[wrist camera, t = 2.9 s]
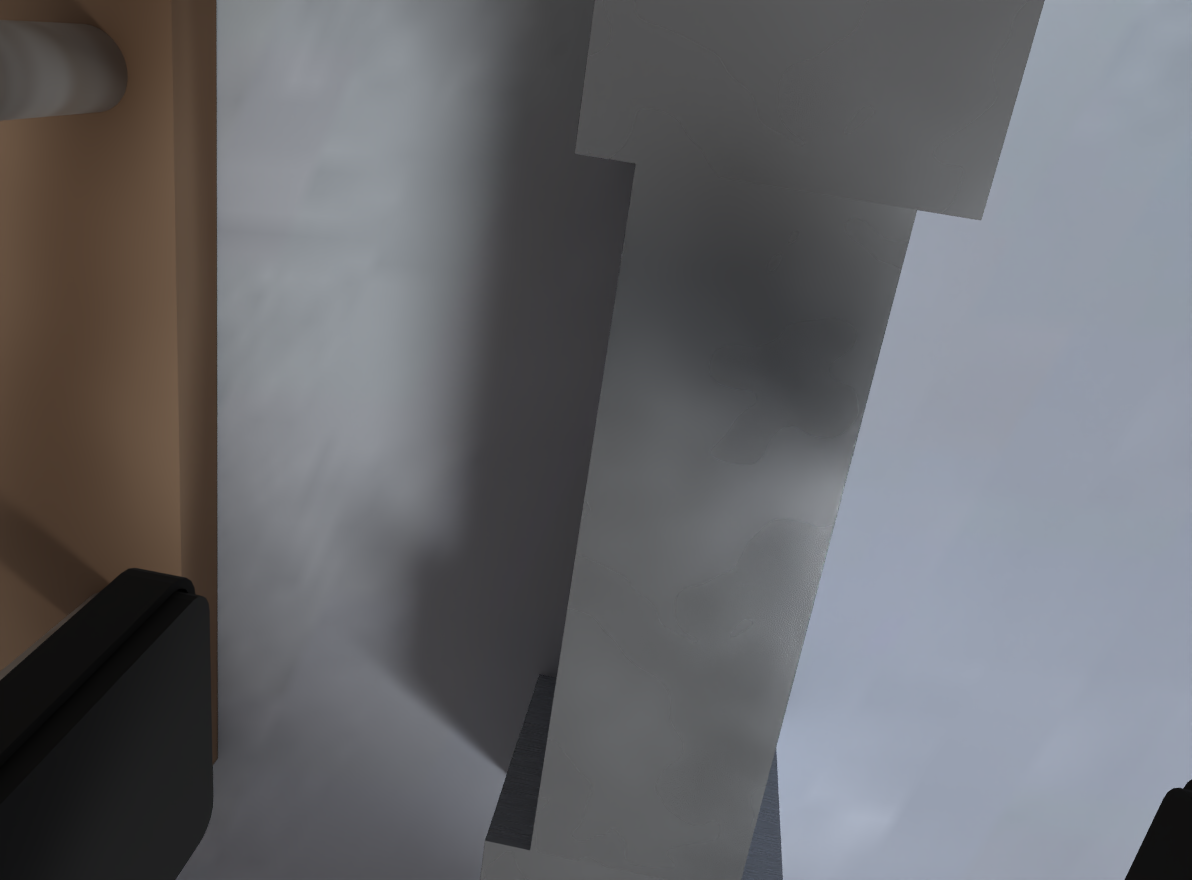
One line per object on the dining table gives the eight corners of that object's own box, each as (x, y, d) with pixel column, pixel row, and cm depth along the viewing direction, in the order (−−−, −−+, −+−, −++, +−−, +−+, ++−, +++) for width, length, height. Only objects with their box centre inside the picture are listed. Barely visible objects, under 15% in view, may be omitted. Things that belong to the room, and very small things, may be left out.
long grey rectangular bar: (969, -28, 16) (1062, -63, 11) (745, 835, 23) (746, 1036, 18) (648, -75, 16) (611, -127, 12) (523, 788, 23) (467, 972, 18)
